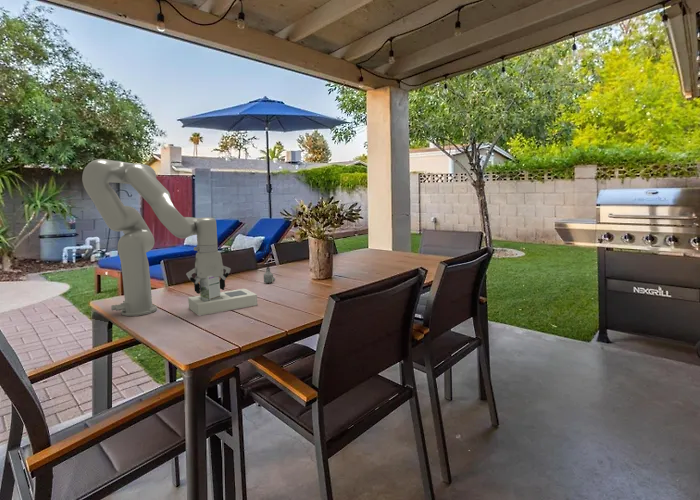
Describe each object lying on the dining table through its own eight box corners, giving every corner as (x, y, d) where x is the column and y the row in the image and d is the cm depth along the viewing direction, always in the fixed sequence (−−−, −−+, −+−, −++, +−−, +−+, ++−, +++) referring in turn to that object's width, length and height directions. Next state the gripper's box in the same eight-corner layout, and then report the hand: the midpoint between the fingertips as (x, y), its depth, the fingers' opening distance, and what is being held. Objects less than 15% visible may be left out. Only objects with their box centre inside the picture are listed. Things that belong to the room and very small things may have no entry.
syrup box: (221, 308, 168) (219, 273, 166) (210, 311, 163) (207, 275, 161) (212, 306, 171) (210, 271, 169) (200, 309, 166) (198, 274, 164)
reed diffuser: (269, 285, 207) (268, 245, 203) (256, 284, 208) (255, 245, 205) (277, 280, 216) (276, 242, 213) (265, 280, 218) (263, 242, 215)
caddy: (198, 316, 158) (197, 304, 157) (188, 308, 168) (188, 296, 168) (257, 305, 172) (256, 294, 171) (245, 298, 182) (244, 288, 182)
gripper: (187, 252, 155) (190, 296, 158) (232, 248, 166) (234, 289, 168) (182, 249, 161) (185, 292, 164) (225, 245, 172) (228, 286, 174)
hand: (210, 291), depth 166 cm, fingers open, 9 cm apart
